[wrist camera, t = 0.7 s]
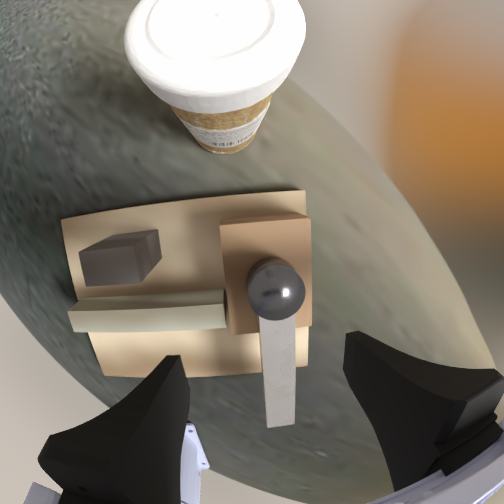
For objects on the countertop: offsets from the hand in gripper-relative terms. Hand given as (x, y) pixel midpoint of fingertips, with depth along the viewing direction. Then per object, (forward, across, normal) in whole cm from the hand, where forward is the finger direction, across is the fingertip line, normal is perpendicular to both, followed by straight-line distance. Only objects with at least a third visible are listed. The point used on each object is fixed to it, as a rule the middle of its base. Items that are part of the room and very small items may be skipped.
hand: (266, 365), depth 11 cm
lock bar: (+6, -1, +3) cm, 6 cm away
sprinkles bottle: (+10, +1, -12) cm, 15 cm away
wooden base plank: (+10, +5, 0) cm, 11 cm away
